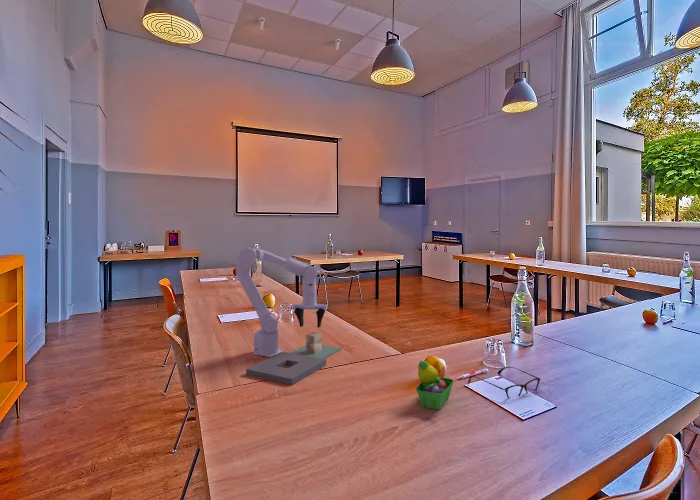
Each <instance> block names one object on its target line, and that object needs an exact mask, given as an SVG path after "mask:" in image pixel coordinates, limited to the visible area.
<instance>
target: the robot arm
mask: <svg viewBox="0 0 700 500" xmlns="http://www.w3.org/2000/svg"><path fill="white" fill-rule="evenodd" d="M256 261H257V262H261V261H262V262H263V261H267V262H270V263H273V264H275V265H278V266H281V267H283V269H284V271H286V272H287V273H289V274H290V273H291V274H293V275H295V276H297V277H301V276H302V286H301V287H302V303H294V304H292V310H294V314H295V315H296V318H297V320H298V322H299V323H298V324H299V326H300V328H302V327H304V323H305V321H304V312H305V310H316V312H315V313H316V320H317V321H316V322H317V325H316V326H317V328H321V326H322V320H323V317H324V314H325V312H326V311H327V310H328V304H322V303H317V279H316V278H317V276H318V271H317V269H316V268H315V266H313V265H311V264H310V263H309V264H308V262H303V261H301V260H298V259H297V258H296V257H289V258H284V257H281V256H278V255H276V254H273V253H272V252H270V251H267V250H264V249H260V248H253V247H252V246H246V247H243V248H242V249H241V250H240V252H239V254H238V257H237V262H236V269H235V275H236V276H237V277H236V278H238V280H239V282H240V284H241V286H242V289H243V290H244V292H245V293H246V296H247V297H248V299H249V301H250V303H251V305H252V307H253V309H254V311H255V313H256V315H257V317H258V319H259V322H260V330H257V331H256V332H255V334H254V336H253V352H252V354H253V355H257V356H262V357H267V358H271V357H273V356H275V355H278V354H280V353H282V352H284V350H282V349H279V334H278V333H279V330H278V321H277V320H276V319H277V318H276V316H275V315H274V314H273V313H271V311H270V310H269V308H268V307H267V305H266V303H265V301H264V298H263V297H262V296H261V293H260V292H259V289H258V288H257V286H256V284H255V282H254V280H253V279H252V276H251V274H250V271H251V268H252V266H253V264H254V263H255V262H256Z"/></svg>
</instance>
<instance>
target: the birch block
mask: <svg viewBox="0 0 700 500" xmlns="http://www.w3.org/2000/svg"><path fill="white" fill-rule="evenodd" d="M322 342H323V341H322V332H316V331H313V332H310V333H307V334H305V345H306V352H308V353H314V354H315V353H317V352H319V351H321V350H322V345H323V343H322Z"/></svg>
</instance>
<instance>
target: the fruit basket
mask: <svg viewBox="0 0 700 500" xmlns="http://www.w3.org/2000/svg"><path fill="white" fill-rule="evenodd" d="M417 370H418V371H417V372H418V373H417V374H418V376H417V377H418V379H419V381H420V383H419V384H418V386H416V387H415V390H416V392H417V395H418V398H419V403H420V405H421V407H426V408H430V409H433V410H437V411H439V410H440V409H441V407H443V405H444V404H446V401H447V400H448V399H449V398H450V395H451V391H452V387H453V384H454V383H455V381H454V379H452V378H447V377H444V376H443V377H442V376H438V375H439V373H438V370H437V369H436V368H435V367H434V366H433V365H431V364H430V363H429V362H427V361H426V360H420V361H419V362H418V365H417Z"/></svg>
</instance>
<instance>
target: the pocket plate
mask: <svg viewBox="0 0 700 500" xmlns="http://www.w3.org/2000/svg"><path fill="white" fill-rule="evenodd" d="M287 366H289V367H287ZM326 366H327V358H326V359H321V358H315V357H309V356H304V355H298V354H292V353H290V352H286V351H283V352H281V353H279V354H276V355H274V356H272V357H268V358H267V359H265V360H262V361H260V362H258V363H256V364H253V365H252V366H250V367H248V368H246V369H245V374H246V376H250V377H255V378H258V379H259V378H260V379H263V380H264V379H265V380H270V381H274V382H277V383H282V384H286V385H291V386H293V385H295V384H297V383H299V382H300V381H302V380H303V379H305V378H307V377H309V376H311V375H313V373H315V372H317V371H319V370H320V369H322V368H324V367H326Z"/></svg>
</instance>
